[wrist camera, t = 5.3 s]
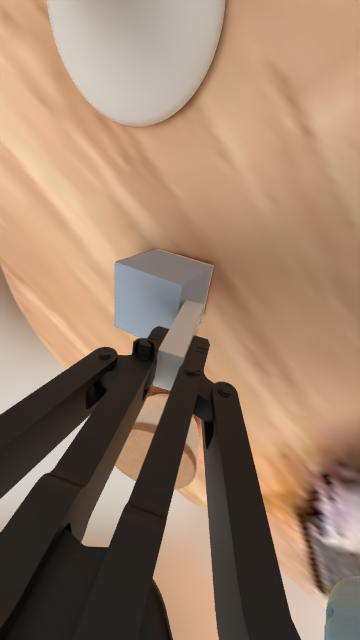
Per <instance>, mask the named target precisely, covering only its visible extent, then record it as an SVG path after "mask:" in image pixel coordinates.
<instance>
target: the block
mask: <svg viewBox="0 0 360 640" xmlns="http://www.w3.org/2000/svg"><path fill="white" fill-rule="evenodd" d="M213 268H214V266H213V265H210V264H207V263H204V262H200V261H197V260H194V259H190V258H187V257H184V256H181V255H177V254H174V253H171V252H167V251H164V250H161V249H154V250H150V251H147V252H144V253H141V254H138V255H135V256H132V257H129V258H125V259H122V260H119V261H116V262H115V326H116V327H118V328H120V329H122V330H124V331H126V332H128V333H131V334H133V335H135V336H137V337H139V338H148V336H149V334H150V333H151V331H152V330H153V329H154V328H155V327H157V326H161V327H164V328H168V329H170V327H171V326H172V324H173V322H174V320H175V318H176V317H177V315H178V313H179V311H180V309H181V307H182V306H183V304H184V302H185V300H190V301H194V302H197V303H201V304H204V307H203V311H202V315H201V319H200V323H199V325H200V324H201V323H202V318H203V313H204V309H205V304H206V300H207V295H208V290H209V286H210V281H211V277H212V272H213Z"/></svg>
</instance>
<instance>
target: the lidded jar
mask: <svg viewBox="0 0 360 640" xmlns="http://www.w3.org/2000/svg"><path fill="white" fill-rule="evenodd" d="M168 397H169V394H165V393H160V394H155V395H152V396H148V397H147V399H146V401H145V403H144V405H143V407H142V409H141V411H140V413H139V415H138V417H137V420H136V422H135V424H134V426H133V428H132V430H131V432H130V434H129V436H128V438H127V440H126V443H125V445H124V447H123V449H122V451H121V453H120V455H119V457H118V459H117V461H116V463H115V466H116V467H117V468H118V469H119V470H120V471H121V472H123V473H124V474H125V475H127V476H128V477H130V478H131V479H133V480H135V481H136V480H137V478H138V475H139V473H140V470H141V467H142V465H143V462H144V459H145V457H146V454H147V452H148V449H149V446H150V444H151V441H152V438H153V436H154V433H155V431H156V428H157V425H158V423H159V420H160V417H161V415H162V412H163V410H164V407H165V404H166V402H167V399H168ZM198 449H199V432H198V428H197V423H196V421H195V419H194V417H193V415H192V419H191V423H190V427H189V431H188V435H187V439H186V443H185V447H184V451H183V455H182V459H181V463H180V467H179V471H178V475H177V479H176V483H175V487H174V489H180V488H183V487H185V486H187V485H188V484H190V483H191V482H192V480H193V479H194V477H195V473H196V462H197V457H198Z"/></svg>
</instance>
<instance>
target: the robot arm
mask: <svg viewBox="0 0 360 640" xmlns="http://www.w3.org/2000/svg"><path fill="white" fill-rule="evenodd" d="M203 307H204V304H201V303H197V302H194V301H190V300H185V302H184V304H183V306H182V307H181V309H180V311H179V313H178V315H177V317H176V318H175V320H174V322H173V324H172V326H171V327H170V329H168V328H164V327H161V326H157V327H155V328H154V329H153V330H152V331H151V333H150V334H149V336H148V338H139V339H136V340H135V341H134V342H133V352H132V355H117V352H116V351H115V350H114V349H113V348H110V347H102V348H98V349H96V350H95V351H93V352H92V353H90V354H89V355H87V356H86V357H84V358H83V359H81V360H80V361H78V362H77V363H76V364H74V365H73V366H71V367H70V368H68V369H67V370H65V371H64V372H62V373H61V374H59V375H58V376H56V377H55V378H54V379H52V380H51V381H49V382H48V383H46V384H45V385H43V386H42V387H40V388H39V389H37V390H36V391H34V392H33V393H31V394H30V395H29V396H27V397H26V398H24V399H23V400H22V401H20V402H18V403H17V404H16V405H14V406H12V407H11V408H9V409H8V410H6V411H5V412H4V413H2V414H1V415H0V498H2V497H3V496H4V495H5V494H6V493H7V492H8V491H9V490H10V489H11V488H12V487H14V486H15V485H16V484H17V483H18V482H19V481H20V480H21V479H22V478H23V477H24V476H25V475H26V474H27V473H28V472H29V471H31V470H32V469H33V468H34V467H35V466H36V465H37V464H38V463H39V462H40V461H41V460H42V459H43V458H44V457H46V456H47V455H48V454H49V453H50V452H51V451H52V450H53V449H54V448H55V447H56V446H57V445H58V444H59V443H60V442H61V441H63V439H65V438H66V437H67V436H68V435H69V434H70V433H71V432H72V431H73V430H74V429H75V428H76V427H77V426H79V425H80V424H81V423H82V422H83V421H84V420H85V419H86V418H87V417H88V416H89V415H90V414H91V415H90V417H89V418H88V419H87V421H86V422H85V424H84V426H83V427H82V428H81V430H80V431H79V433H78V434H77V435H76V437H75V439H74V440H73V441H72V443H71V444H70V446H69V447H68V449H67V450H66V452H65V453H64V455H63V456H62V458H61V459H60V461H59V462H58V463H57V465H56V467H55V468H54V469H53V470H52V471H51V472H50V473H47V474H44V475H43V476H42V477H41V478H40V479H39V480H38V482H36V484H35V485H34V487H33V488H32V489H31V491H30V492H29V494H28V495H27V496H26V498H25V499H24V501H23V502H22V503H21V505H20V506H19V508H18V509H17V511H16V512H15V513H14V515H13V516H12V518H11V519H10V520H9V522H8V523H7V525H6V526H5V527H4V529H3V530H2V532H0V640H173V638H172V634H171V630H170V625H169V620H168V616H167V612H166V608H165V604H164V601H163V598H162V595H161V593H160V591H159V589H158V587H157V585H156V583H155V582H154V580H153V573H154V570H155V565H156V561H157V557H158V553H159V549H160V545H161V541H162V537H163V533H164V529H165V525H166V520H167V515H168V511H169V506H170V503H171V499H172V495H173V491H174V487H175V483H176V479H177V475H178V471H179V467H180V463H181V459H182V455H183V451H184V447H185V443H186V439H187V435H188V431H189V427H190V423H191V419H192V415H193V414H195V415H196V416H198V417H199V418H200V419H202V435H203V449H204V463H205V476H206V490H207V504H208V517H209V530H210V543H211V544H210V545H211V557H212V571H213V585H214V599H215V611H216V620H217V629H218V636H219V640H301V639H300V636H299V634H298V632H297V630H296V628H295V625H294V623H293V621H292V619H291V616H290V611H289V607H288V603H287V599H286V595H285V590H284V587H283V582H282V578H281V574H280V570H279V565H278V561H277V557H276V553H275V549H274V544H273V540H272V536H271V532H270V528H269V523H268V519H267V515H266V511H265V507H264V503H263V498H262V494H261V490H260V486H259V482H258V477H257V473H256V469H255V465H254V461H253V456H252V452H251V448H250V444H249V440H248V436H247V431H246V427H245V423H244V419H243V415H242V410H241V406H240V402H239V398H238V394H237V391H236V389H235V388H234V387H233V386H232V385H230V384H229V383H226V382H217V383H213V382H211V381H210V380H208V379H207V378H206V376H205V375H204V366H205V362H206V358H207V354H208V350H209V346H210V344H209V341H208V339H204V338H201V337H197V336H196V334H197V331H198V327H199V323H200V319H201V315H202V311H203ZM152 382H153V386H156V387H159V388H162V389H166V390H169V391H170V394H169V397H168V399H167V402H166V404H165V407H164V410H163V412H162V415H161V417H160V420H159V423H158V425H157V428H156V431H155V433H154V436H153V438H152V441H151V444H150V446H149V449H148V452H147V454H146V457H145V459H144V462H143V465H142V467H141V470H140V473H139V475H138V478H137V480H136V483H135V486H134V489H133V491H132V494H131V496H130V499H129V501H128V503H127V504H126V505H125V507H124V509H123V512H122V514H121V517H120V519H119V522H118V524H117V527H116V530H115V532H114V535H113V537H112V540H111V542H110V545H109V547H88V546H84V545H83V544H82V543H81V541H82V539H83V536H84V534H85V531H86V528H87V524H88V521H89V518H90V516H91V514H92V511H93V510H94V507H95V505H96V503H97V501H98V499H99V497H100V495H101V493H102V490H103V489H104V487H105V484H106V482H107V480H108V478H109V476H110V474H111V472H112V470H113V468H114V466H115V463H116V461H117V459H118V457H119V455H120V453H121V451H122V449H123V447H124V445H125V443H126V440H127V438H128V436H129V434H130V432H131V430H132V428H133V426H134V424H135V422H136V420H137V417H138V415H139V413H140V411H141V409H142V407H143V405H144V403H145V401H146V399H147V396H148V394H149V392H150V387H151V384H152ZM325 640H360V576H356V577H347V578H344V579H342V580H340V581H339V582H338V583H337V584H336V585H335V586H334V588H333V589H332V592H331V594H330V596H329V600H328V604H327V609H326V624H325Z"/></svg>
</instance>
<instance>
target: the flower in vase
mask: <svg viewBox="0 0 360 640" xmlns="http://www.w3.org/2000/svg"><path fill="white" fill-rule="evenodd" d="M225 2H226V0H47V5H48V12H49V18H50V24H51V28H52V32H53V36H54V40H55V42H56V45H57V48H58V51H59V54H60V56H61V59H62V61H63V63H64V66H65V68H66V69H67V71H68V73H69V75H70V77H71V79H72V80H73V82H74V84H75V85H76V87H77V88H78V90H79V91H80V93H81V94H82V96H83V97H84V98H85V99H86V100H87V101H88V103H89V104H90V105H91V106H92V107H93V108H94V109H96V110H97V111H98V112H99V113H100V114H102V115H103V116H105V117H106V118H108V119H110V120H112V121H114V122H116V123H119V124H122V125H125V126H132V127H145V126H150V125H154V124H157V123H159V122H162V121H164V120H166V119H167V118H169V117H171V116H172V115H174V114H175V113H176V112H177V111H179V110H180V109H181V108H182V107H183V106H184V105H185V104H186V103H187V102H188V101H189V100H190V99H191V97H192V96H193V95H194V93H195V92H196V91H197V89H198V88H199V86H200V84H201V83H202V81H203V79H204V77H205V76H206V74H207V72H208V69H209V67H210V65H211V63H212V60H213V57H214V55H215V52H216V49H217V46H218V42H219V38H220V34H221V30H222V25H223V19H224V12H225Z"/></svg>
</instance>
